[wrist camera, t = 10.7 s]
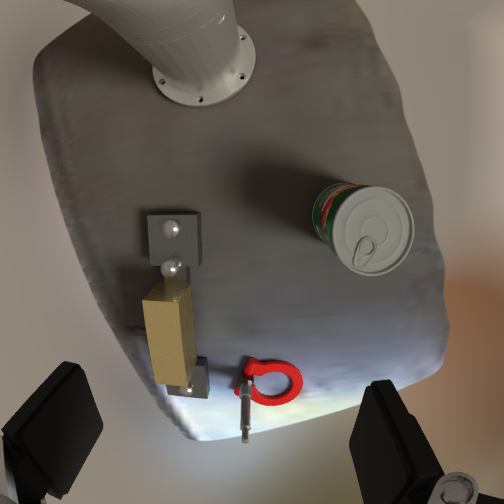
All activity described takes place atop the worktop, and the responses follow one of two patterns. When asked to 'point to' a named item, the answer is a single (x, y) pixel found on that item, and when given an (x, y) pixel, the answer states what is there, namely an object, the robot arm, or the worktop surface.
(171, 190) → the worktop surface
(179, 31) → the robot arm
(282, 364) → the tow hook
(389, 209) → the canned tomato
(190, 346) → the tan cork brick
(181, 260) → the grey plate with studs
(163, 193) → the worktop surface
